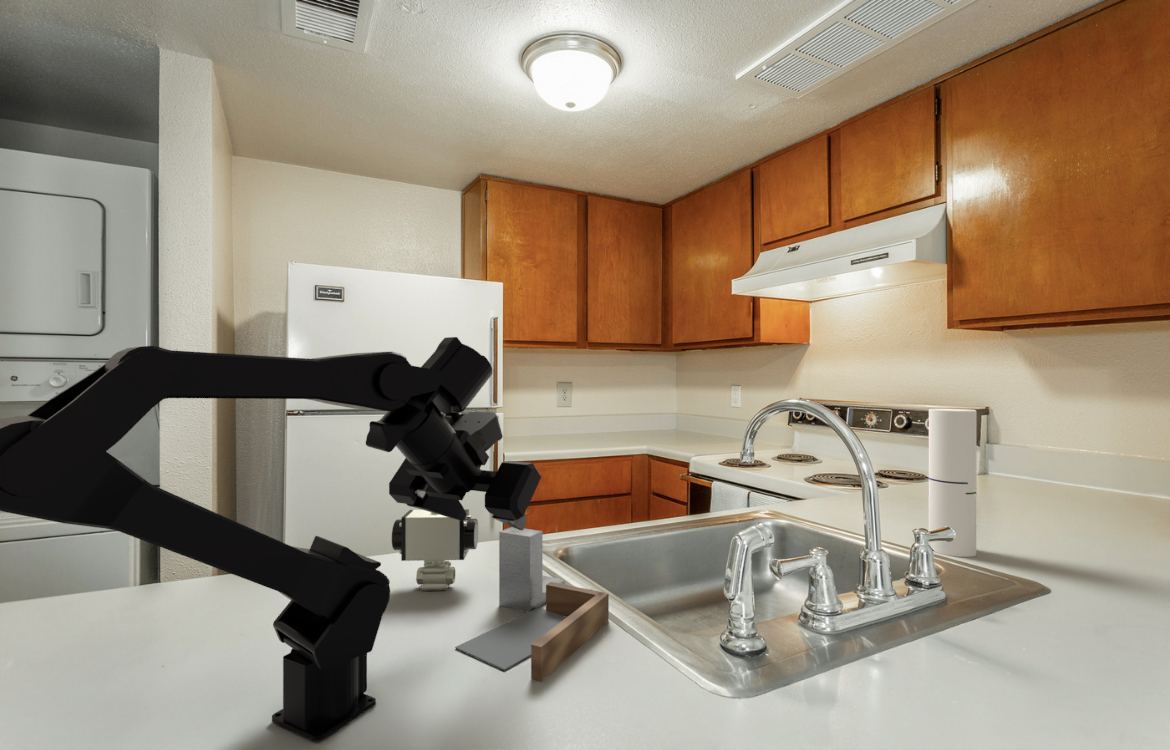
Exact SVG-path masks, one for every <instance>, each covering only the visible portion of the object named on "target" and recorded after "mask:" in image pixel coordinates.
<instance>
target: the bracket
mask: <svg viewBox="0 0 1170 750" xmlns="http://www.w3.org/2000/svg"><path fill="white" fill-rule="evenodd" d="M498 535H499V536H498V540H499V541H498V542H499V544H498V548H499V549H498V550H499V553H498V554H499V555H498V561H499V563H498V564H499V565H498V568H499V570H498V571H499V572H498V573H499V577H498V579H499V580H498V583H499V584H498V585H499V587H498V588H499V589H498V595H499V596H498V599H499V601H498V602H499V603H498V604H499V605H498V606H499V607H504V608H506V609H507V608H508V609H512V610H516V611H520V612H524V613H528V612H530V611H532V610H534V609H536V608H538V607H539V608H541V606H543V605H544V604H545V605H546V585H547V584H548V583H550V582H554V583H559V584H564V585H566V580H565V579H562V578H557V577H554V576H553V577H552V576H548V575H547V576H546V575H543V530H537V529H536V530H535V529H529V528H525V527H524V530H519V529H516V528H514V527H511V526H509V527H508V528H505V529H503V530H500V531H499V534H498Z"/></svg>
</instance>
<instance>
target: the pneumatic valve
mask: <svg viewBox="0 0 1170 750" xmlns="http://www.w3.org/2000/svg"><path fill="white" fill-rule="evenodd" d="M464 510H465V511H466V513H467V516H466V518H465V519H464V521H459V520H456V519H453V518H449V517H446V516H443V515H439V514H436V513H433V512H429V511H426V510H422V509H409V510H407V512H406V513H405V514H404V515H403V516H401V517H400V519H399V518H398V519H397V518H396V520H395V521H394V522H393V524H392V525H393V526H392V531H391V546H392V549H393V550H394V551H399V554H400V555H401V557H400V558H401V562H403V561H404V562H405V561H406V562H408V561H409V562H410V561H423V566H420V567H418V568H417V571H416V578H415V580H416V584H417V585H419V589H420V590H421V591H423V592H429V591H433V592H435V591H437V592H438V591H440V592H441V591H442V592H443V591H446V590H448V588H449V587H448V585H453V584H454V583H455V581H456V567H455V566H452V562H451V561H464V560H465V559H466V557H467V555H468V553H469V551H470V550H477V547H478V544H479V543H478V541H479V522H478V519H477V518H472V516H471V515H470V509H465V508H464Z"/></svg>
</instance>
